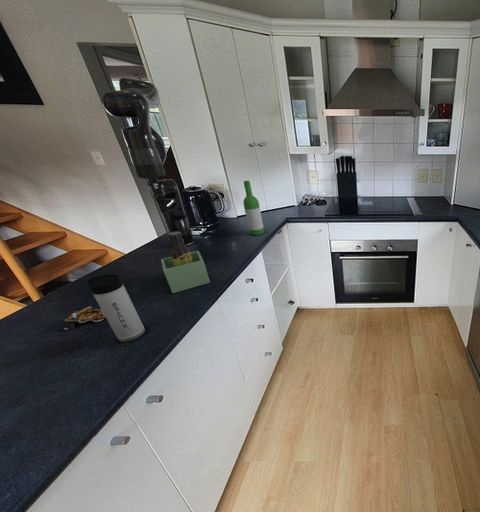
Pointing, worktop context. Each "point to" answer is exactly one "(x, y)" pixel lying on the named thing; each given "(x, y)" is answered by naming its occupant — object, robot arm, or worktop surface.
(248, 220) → the wine bottle
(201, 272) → the caddy
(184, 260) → the sauce bottle
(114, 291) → the travel mug
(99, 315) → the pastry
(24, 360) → the worktop surface
